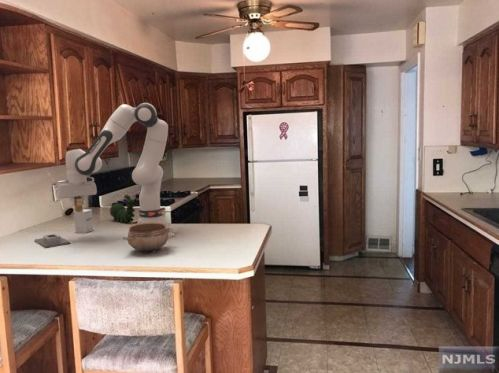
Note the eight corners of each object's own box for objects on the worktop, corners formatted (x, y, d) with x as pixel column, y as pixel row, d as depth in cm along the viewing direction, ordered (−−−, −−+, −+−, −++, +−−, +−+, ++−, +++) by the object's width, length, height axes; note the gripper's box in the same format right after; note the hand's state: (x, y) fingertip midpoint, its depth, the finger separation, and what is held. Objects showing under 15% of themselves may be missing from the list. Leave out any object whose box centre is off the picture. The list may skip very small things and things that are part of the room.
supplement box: (86, 233, 245) (85, 211, 244) (75, 232, 247) (73, 211, 245) (93, 230, 252) (92, 209, 251) (82, 230, 254) (80, 209, 252)
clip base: (70, 243, 221) (69, 237, 221) (45, 248, 213) (45, 241, 213) (58, 237, 236) (57, 231, 236) (34, 241, 228) (34, 235, 228)
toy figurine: (138, 225, 272) (118, 217, 290) (138, 195, 269) (117, 189, 286) (125, 227, 265) (105, 219, 283) (124, 197, 262) (104, 190, 279)
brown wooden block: (82, 211, 229) (81, 196, 229) (78, 212, 228) (76, 197, 227) (79, 210, 233) (78, 196, 232) (74, 211, 232) (73, 196, 231)
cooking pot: (135, 260, 188) (133, 233, 186) (114, 252, 201) (113, 227, 200) (182, 249, 205) (180, 224, 203) (160, 242, 218) (159, 219, 217)
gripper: (57, 181, 219) (59, 208, 221) (96, 177, 233) (98, 203, 234) (53, 180, 224) (56, 206, 226) (92, 177, 237) (94, 201, 239)
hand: (78, 204), depth 230 cm, fingers closed on brown wooden block, 2 cm apart
